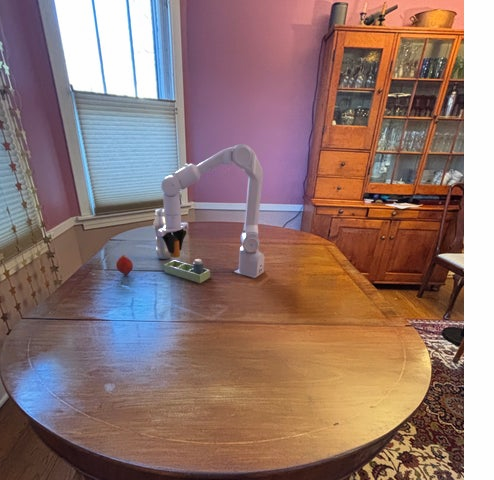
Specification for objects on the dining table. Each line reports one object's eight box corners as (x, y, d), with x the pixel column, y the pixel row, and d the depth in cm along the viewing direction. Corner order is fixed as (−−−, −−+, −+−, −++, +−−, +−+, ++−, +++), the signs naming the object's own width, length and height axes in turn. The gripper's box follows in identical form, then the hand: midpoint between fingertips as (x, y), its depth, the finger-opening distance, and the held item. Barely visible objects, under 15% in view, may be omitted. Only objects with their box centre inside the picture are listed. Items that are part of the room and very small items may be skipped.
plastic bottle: (173, 255, 132) (170, 208, 121) (169, 261, 126) (165, 212, 115) (159, 255, 132) (154, 208, 121) (154, 260, 126) (149, 211, 116)
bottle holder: (210, 278, 112) (210, 269, 110) (200, 284, 107) (199, 275, 105) (174, 268, 119) (174, 259, 118) (164, 273, 115) (163, 264, 113)
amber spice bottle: (181, 255, 113) (180, 237, 110) (175, 258, 111) (174, 239, 107) (174, 253, 115) (173, 235, 111) (168, 256, 112) (166, 238, 109)
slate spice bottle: (205, 277, 111) (205, 259, 107) (199, 280, 108) (198, 262, 105) (197, 275, 113) (197, 257, 109) (191, 278, 110) (190, 260, 106)
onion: (114, 275, 112) (111, 255, 107) (125, 270, 116) (122, 250, 112) (126, 279, 109) (123, 258, 105) (137, 273, 114) (134, 253, 110)
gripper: (177, 209, 112) (179, 244, 119) (149, 215, 101) (153, 254, 108) (192, 211, 108) (193, 247, 116) (164, 218, 98) (167, 258, 105)
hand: (175, 251), depth 112 cm, fingers closed on amber spice bottle, 3 cm apart
